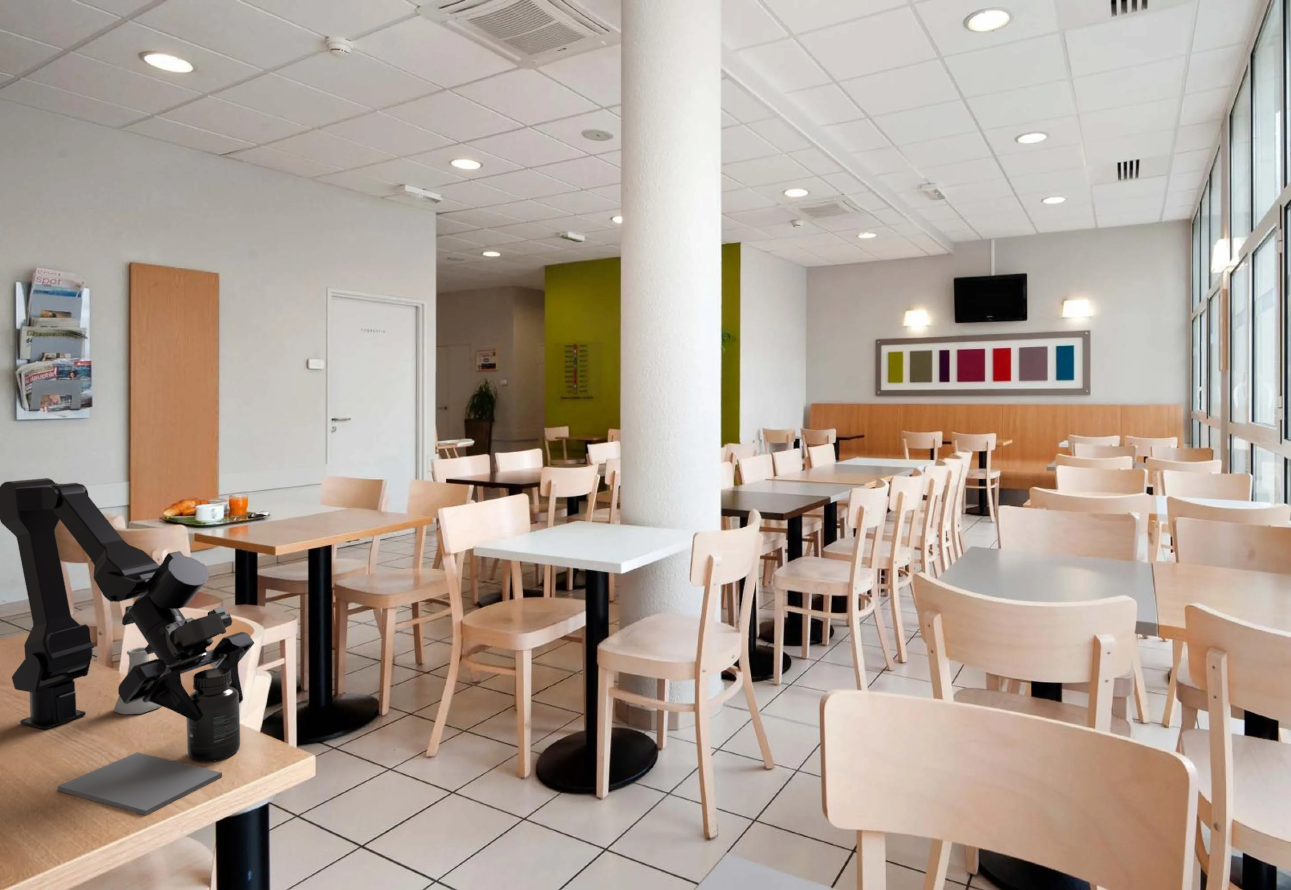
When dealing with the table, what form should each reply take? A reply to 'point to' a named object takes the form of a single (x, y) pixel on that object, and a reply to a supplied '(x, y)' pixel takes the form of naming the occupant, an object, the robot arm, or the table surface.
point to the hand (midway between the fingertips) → (220, 710)
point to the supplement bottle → (214, 717)
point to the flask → (139, 706)
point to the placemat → (140, 782)
